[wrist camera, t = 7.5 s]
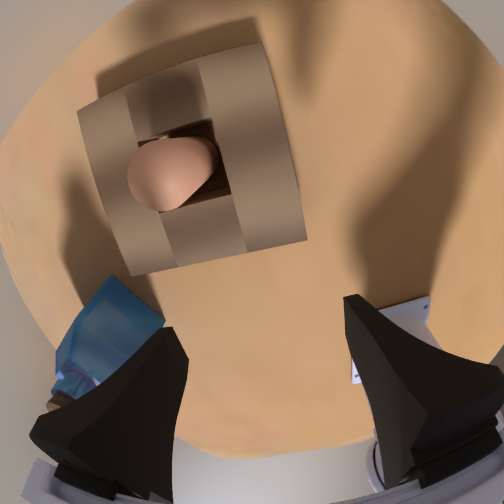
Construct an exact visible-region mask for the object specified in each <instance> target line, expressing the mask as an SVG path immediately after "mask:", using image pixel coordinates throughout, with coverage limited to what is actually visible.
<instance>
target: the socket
mask: <svg viewBox="0 0 504 504" xmlns="http://www.w3.org/2000/svg"><path fill="white" fill-rule="evenodd" d="M77 115H78V119H79V124H80V128H81V132H82V136H83V140H84V144H85V148H86V152H87V156H88V159H89V163H90V166H91V170H92V173H93V176H94V179H95V183H96V186H97V189H98V192H99V195H100V198H101V201H102V204H103V207H104V210H105V212H106V215H107V218H108V221H109V223H110V226H111V229H112V231H113V234H114V237H115V239H116V242H117V244H118V247H119V249H120V252H121V254H122V256H123V259H124V261H125V263H126V266H127V268H128V270H129V273H130V275H131V277H134V276H138V275H143V274H148V273H153V272H157V271H162V270H167V269H172V268H177V267H181V266H186V265H191V264H196V263H201V262H205V261H210V260H215V259H220V258H224V257H229V256H234V255H239V254H244V253H248V252H253V251H258V250H263V249H268V248H272V247H277V246H282V245H287V244H292V243H296V242H301V241H306V240H307V234H306V228H305V223H304V217H303V212H302V207H301V201H300V196H299V191H298V186H297V181H296V176H295V172H294V167H293V162H292V158H291V153H290V149H289V144H288V140H287V135H286V131H285V127H284V123H283V119H282V115H281V111H280V107H279V103H278V99H277V95H276V91H275V87H274V83H273V80H272V76H271V72H270V69H269V65H268V62H267V58H266V55H265V51H264V48H263V45H262V42H260V43H255V44H250V45H246V46H241V47H237V48H232V49H228V50H224V51H220V52H217V53H213V54H209V55H206V56H203V57H199V58H196V59H193V60H190V61H187V62H184V63H181V64H178V65H175V66H172V67H169V68H167V69H164V70H161V71H159V72H156V73H154V74H151V75H149V76H146V77H144V78H142V79H139V80H137V81H135V82H133V83H130V84H128V85H126V86H124V87H122V88H120V89H117V90H115V91H113V92H111V93H109V94H107V95H105V96H104V97H102V98H100V99H98V100H96V101H94V102H92V103H90V104H89V105H87V106H85V107H83V108H82V109H80V110H78V111H77ZM210 121H213V125H214V129H215V132H216V136H217V140H218V144H219V148H220V151H221V155H222V159H223V163H224V166H225V170H226V174H227V178H228V181H229V185H230V186H229V187H225V188H221V189H217V190H213V191H209V192H205V193H201V194H198V195H194V196H190V197H189V198H188V199H187V200H186V201H185V202H184V203H183V204H181V205H180V206H179V207H177V208H175V209H172V210H169V211H154V210H151V209H148V208H146V207H144V206H143V205H142V204H140V203H139V202H138V201H137V200H136V199H135V197H134V196H133V194H132V193H131V190H130V188H129V185H128V180H127V171H128V166H129V163H130V160H131V158H132V156H133V155H134V153H135V152H136V151H137V150H138V149H139V148H140V147H141V146H143V145H144V144H146V143H148V142H151V141H155V139H158V138H160V137H163V136H166V135H169V134H172V133H175V132H178V131H181V130H184V129H187V128H190V127H194V126H197V125H200V124H204V123H207V122H210Z"/></svg>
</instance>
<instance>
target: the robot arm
mask: <svg viewBox="0 0 504 504" xmlns="http://www.w3.org/2000/svg"><path fill="white" fill-rule="evenodd" d="M343 300H344V316H345V335H346V339H347V343H348V347H349V350H350V354H351V357H352V379H351V380H352V383H353V384H358V383H362V385H363V388H364V391H365V395H366V398H367V401H368V404H369V407H370V411H371V414H372V417H373V421H374V423H375V428H374V429H373V431H374V434H375V438H376V440H375V441H373V442H372V443H371V444H370V446H369V447H368V450H367V455H366V462H365V465H366V473H367V477H368V480H369V482H370V485H371V486H372V488H373V489H374V491H375V492H376V493H374V494H370V495H367V496H363V497H359V498H355V499H351V500H346V501H341V502H337V503H331V504H503V503H502V501H503V500H504V418H503V416H502V414H501V412H500V410H499V409H500V408H501V407H502V405H503V404H504V374H503V373H502V372H501V370H500V369H499V368H498V366H493V365H489V364H484V363H479V362H475V361H471V360H468V359H465V358H461V357H458V356H456V355H453V354H450V353H448V352H445V351H443V350H442V349H441V347H440V345H439V344H438V342H437V341H436V339H435V338H434V336H433V335H432V333H431V332H430V330H429V329H428V327H427V320H428V315H429V308H430V298H429V297H428V296H425V297H422V298H419V299H415V300H412V301H409V302H405V303H402V304H399V305H395V306H392V307H388V308H384V309H381V310H377V309H376V308H374V307H373V306H372V305H371V304H370V303H368V302H367V301H366V300H365V299H364V298H363V297H361V296H360V295H359V294H355V295H350V296H346V297H343ZM425 305H426V306H425ZM424 306H425V307H424ZM188 364H189V359H188V357H187V355H186V353H185V351H184V349H183V347H182V345H181V343H180V341H179V339H178V337H177V335H176V333H175V331H174V329H173V327H164V328H159V329H158V330H157V331H156V332H155V333H154V334H153V335H152V336H151V337H150V338H149V339H148V340H147V341H146V342H145V343H144V344H143V345H142V346H141V347H140V348H139V349H138V350H137V351H136V352H135V353H134V354H133V355H132V356H131V357H130V358H129V359H128V360H127V361H126V362H125V363H124V364H122V365H121V366H120V367H119V368H118V369H117V370H116V371H115V372H114V373H113V374H112V375H110V376H109V377H108V378H107V379H106V380H104V381H103V382H102V383H100V384H99V385H98V386H96V387H95V388H93V389H92V390H90V391H89V392H87V393H86V394H84V395H83V396H81V397H80V398H78V399H76V400H74V401H72V402H71V403H69V404H67V405H65V406H63V407H60V408H58V409H56V410H53V411H51V412H48V413H46V414H43V415H40V416H39V417H38V419H37V421H36V422H35V424H34V426H33V428H32V430H31V432H30V434H29V436H30V439H31V440H32V441H33V442H34V443H35V444H36V445H37V446H38V447H39V448H40V449H41V450H42V451H44V452H45V453H46V454H47V455H49V456H50V457H51V458H52V459H54V460H55V461H56V462H58V463H59V464H58V466H57V468H56V467H55V466H53V465H51V464H49V463H47V462H45V461H43V460H41V459H39V458H36V460H35V462H34V465H33V467H32V469H31V471H30V474H29V476H28V479H27V481H26V483H25V486H24V489H23V491H22V494H21V496H22V497H23V498H24V499H26V500H27V501H29V502H30V503H31V504H173V493H172V451H173V441H174V432H175V425H176V420H177V416H178V412H179V408H180V404H181V401H182V397H183V393H184V389H185V385H186V381H187V374H188Z"/></svg>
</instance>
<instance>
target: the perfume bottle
mask: <svg viewBox="0 0 504 504" xmlns="http://www.w3.org/2000/svg"><path fill="white" fill-rule="evenodd" d="M165 321H166V320H165V319H164V318H162V317H161V316H160V315H159V314H157V313H156V312H155V311H154V310H152V309H151V308H150V307H149V306H147V305H146V304H145V303H144V302H143V301H141V300H140V299H139V298H138V297H137V296H135V295H134V294H133V293H132V292H131V291H130V290H128V289H127V288H126V287H125V286H124V285H123V284H122V283H120V282H119V281H118V280H117V279H116V278H115V277H114V276H113V275H111V276H110V277H109V278H108V280H107V281H106V282H105V283H104V284H103V285H102V287H101V288H100V289H99V290H98V291H97V292H96V294H95V295H94V296H93V297H92V298H91V300H90V301H89V302H88V303H87V304H86V306H85V307H84V308H83V309H82V311H81V312H80V313H79V314H78V316H77V317H76V318H75V320H74V322H73V323H72V325H71V327H70V328H69V330H68V332H67V333H66V335H65V337H64V338H63V340H62V342H61V344H60V345H59V347H58V349H57V351H56V377H58V378H59V380H57V381H56V383H55V385H54V386H53V388H52V390H51V393H52V396H53V397H52V398H51V399H50V400H49V401H48V402H47V403H46V407H47V409H48V410H49V412H51V411H53V410H56V409H58V408H60V407H63V406H65V405H67V404H69V403H71V402H72V401H74V400H76V399H78V398H80V397H81V396H83V395H84V394H86V393H87V392H89V391H90V390H92V389H93V388H95V387H96V386H98V385H99V384H100V383H102V382H103V381H104V380H106V379H107V378H108V377H109V376H110V375H112V374H113V373H114V372H115V371H116V370H117V369H118V368H119V367H120V366H121V365H122V364H124V363H125V362H126V361H127V360H128V359H129V358H130V357H131V356H132V355H133V354H134V353H135V352H136V351H137V350H138V349H139V348H140V347H141V346H142V345H143V344H144V343H145V342H146V341H147V340H148V339H149V338H150V337H151V336H152V335H153V334H154V333H155V332H156V331H157V330H158V329H159V328H163V326H164V323H165Z"/></svg>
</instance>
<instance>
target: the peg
mask: <svg viewBox="0 0 504 504" xmlns="http://www.w3.org/2000/svg"><path fill="white" fill-rule="evenodd" d="M217 166H218V153H217V150H216V148H215V146H214V145H213V144H212V143H211V142H210V141H209V140H207V139H205V138H203V137H198V136H193V137H181V138H171V139H162V140H155V141H151V142H148V143H146V144H144V145H143V146H141V147H140V148H139V149H138V150H137V151H136V152H135V153H134V155H133V156H132V158H131V160H130V163H129V166H128V171H127V180H128V185H129V188H130V190H131V193H132V194H133V196H134V197H135V199H136V200H137V201H138V202H139V203H140V204H142V205H143V206H144V207H146V208H148V209H151V210H154V211H169V210H172V209H175V208H177V207H179V206H180V205H181V204H183V203H184V202H185V201H186V200H187V199H188V198H189V197H190V196H191V195H192V194H193V193H194V192H195V191H196V190H197V189H198V188H199V187H200V186H201V185H202V184H203V183H204V182H206V181H207V180H208V179H209V178H210V177H211V176H212V175H213V174H214V172H215V171H216V169H217Z"/></svg>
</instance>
